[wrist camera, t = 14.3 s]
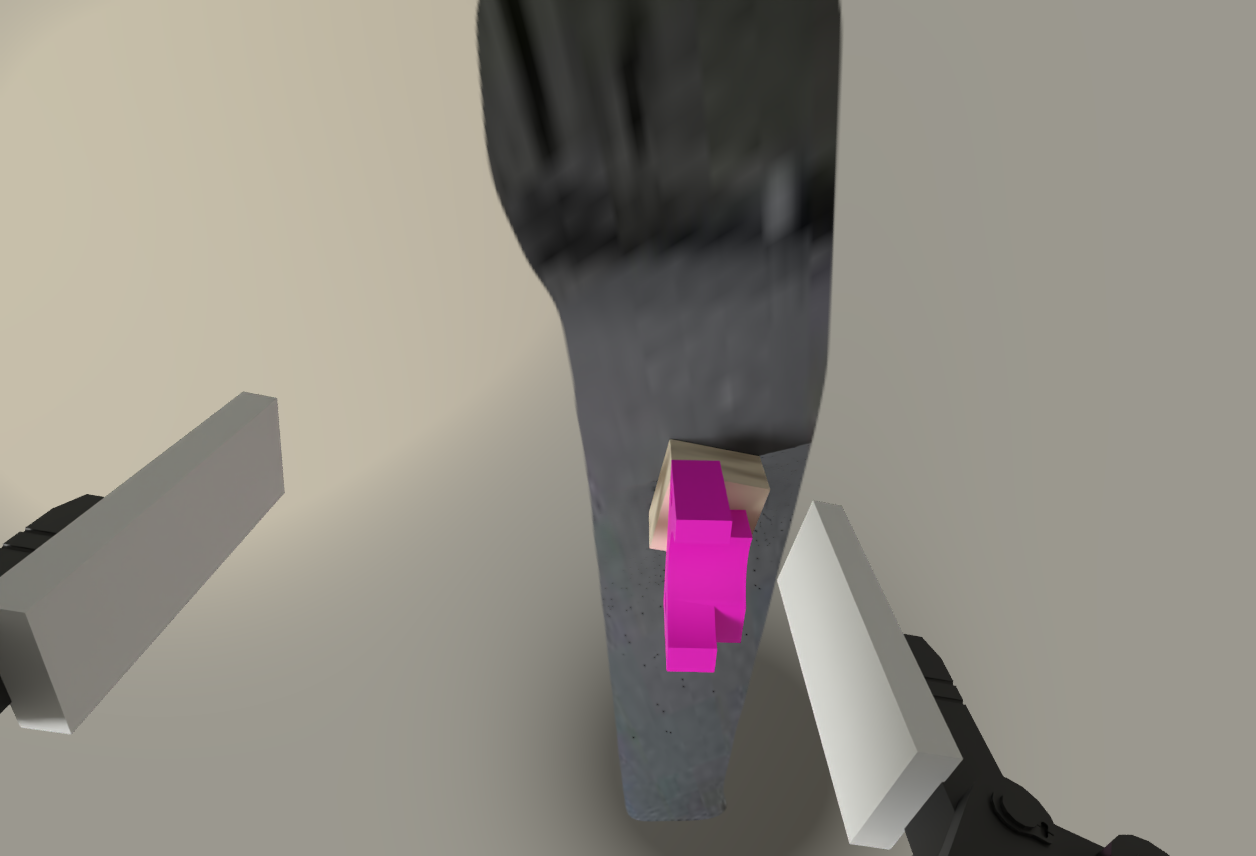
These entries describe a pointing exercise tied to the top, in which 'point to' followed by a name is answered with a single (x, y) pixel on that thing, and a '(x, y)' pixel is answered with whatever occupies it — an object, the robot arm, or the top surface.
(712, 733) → the top surface
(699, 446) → the riser
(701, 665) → the toy block
